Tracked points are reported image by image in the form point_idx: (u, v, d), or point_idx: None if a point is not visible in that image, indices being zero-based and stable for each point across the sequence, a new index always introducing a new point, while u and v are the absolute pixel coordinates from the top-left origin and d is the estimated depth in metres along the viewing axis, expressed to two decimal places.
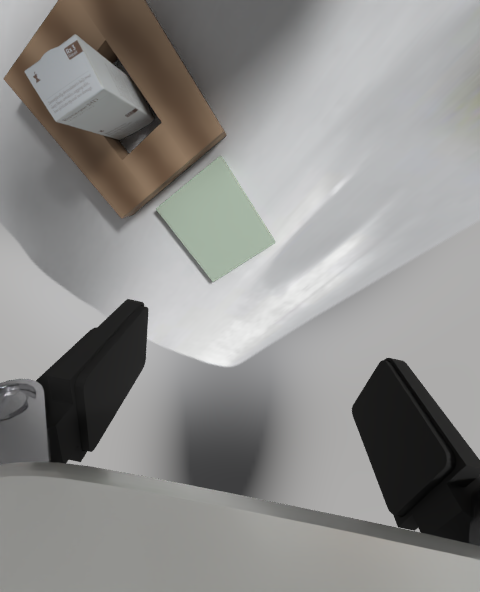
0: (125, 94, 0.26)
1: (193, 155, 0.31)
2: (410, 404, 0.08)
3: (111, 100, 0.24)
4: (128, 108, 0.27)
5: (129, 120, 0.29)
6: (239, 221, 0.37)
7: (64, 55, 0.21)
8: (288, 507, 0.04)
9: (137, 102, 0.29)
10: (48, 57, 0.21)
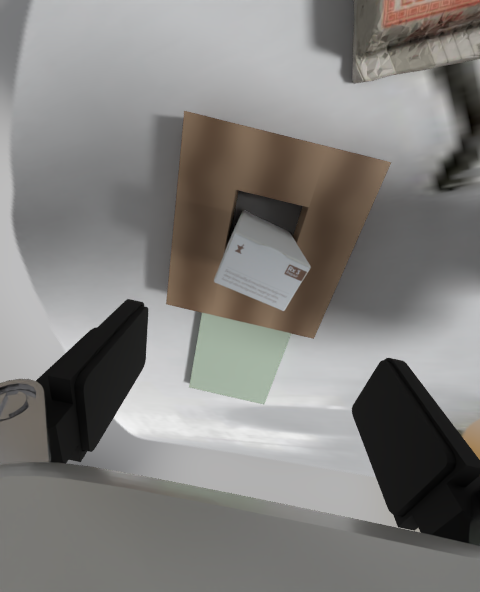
0: None
1: (277, 329, 0.30)
2: (410, 404, 0.08)
3: None
4: None
5: None
6: (255, 374, 0.36)
7: (284, 267, 0.17)
8: (288, 507, 0.04)
9: None
10: (269, 253, 0.17)
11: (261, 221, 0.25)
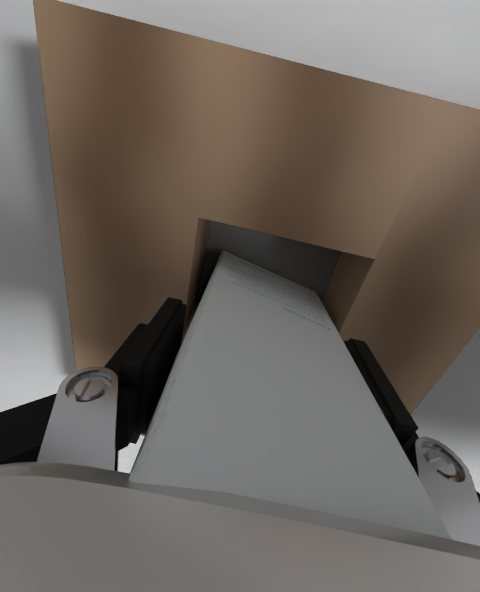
0: None
1: None
2: None
3: None
4: None
5: None
6: None
7: None
8: (288, 507, 0.04)
9: None
10: None
11: (260, 284, 0.11)
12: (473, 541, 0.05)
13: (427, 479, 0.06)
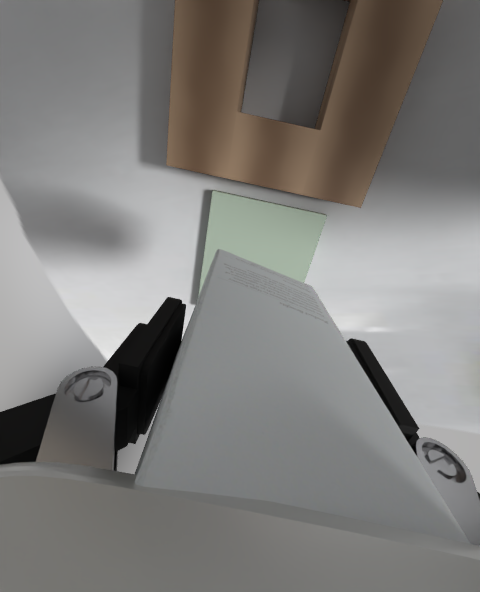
0: None
1: (312, 195, 0.23)
2: None
3: None
4: None
5: None
6: None
7: None
8: (288, 507, 0.04)
9: None
10: None
11: (257, 280, 0.11)
12: (474, 542, 0.05)
13: None
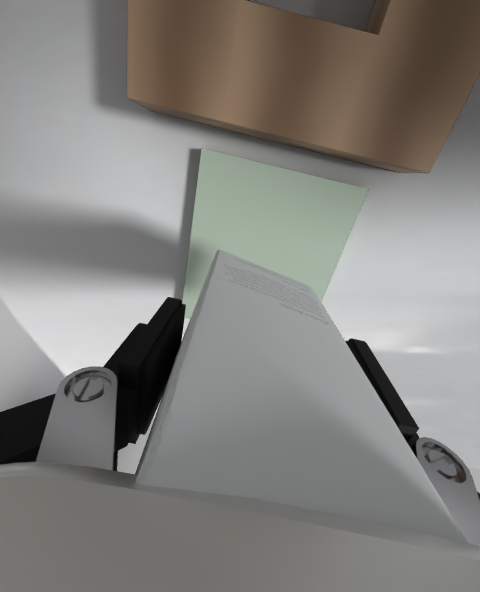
0: None
1: (355, 151, 0.14)
2: None
3: None
4: None
5: None
6: None
7: None
8: (288, 507, 0.04)
9: None
10: None
11: (257, 281, 0.11)
12: (474, 542, 0.05)
13: None
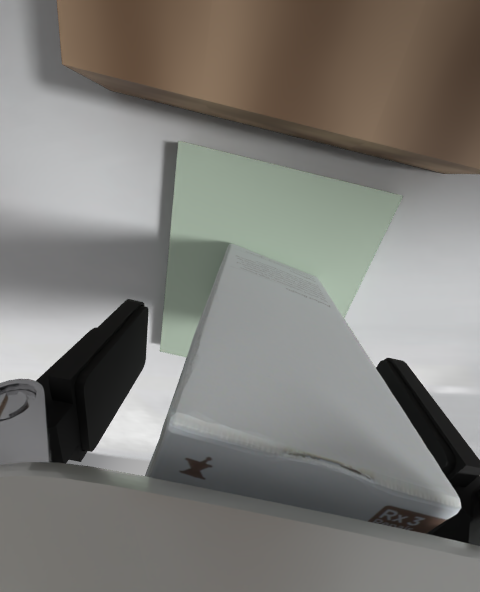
0: None
1: (394, 143, 0.10)
2: (410, 404, 0.08)
3: None
4: None
5: None
6: None
7: (366, 511, 0.05)
8: (288, 507, 0.04)
9: None
10: (312, 478, 0.04)
11: (265, 270, 0.12)
12: None
13: None
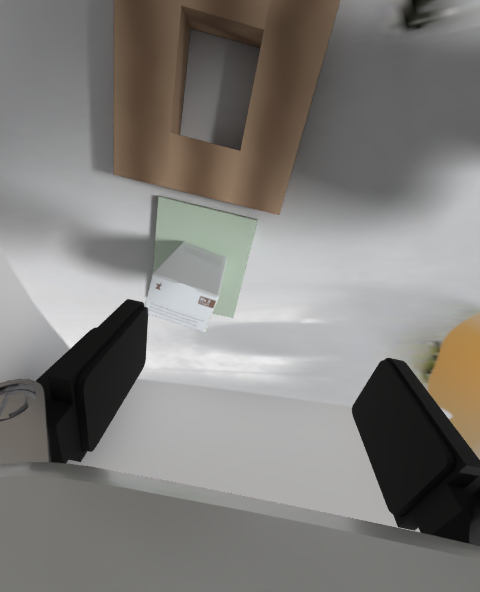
0: None
1: (238, 203, 0.27)
2: (410, 404, 0.08)
3: None
4: None
5: None
6: None
7: (196, 298, 0.21)
8: (288, 507, 0.04)
9: None
10: (183, 288, 0.21)
11: (195, 252, 0.29)
12: None
13: None
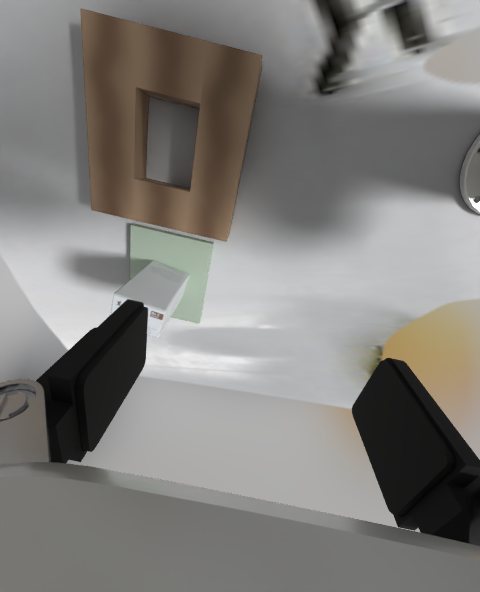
0: (172, 311, 0.33)
1: (192, 232, 0.33)
2: (410, 404, 0.08)
3: None
4: None
5: None
6: (187, 290, 0.40)
7: (148, 312, 0.28)
8: (288, 507, 0.04)
9: (178, 301, 0.36)
10: None
11: (160, 271, 0.35)
12: None
13: None
